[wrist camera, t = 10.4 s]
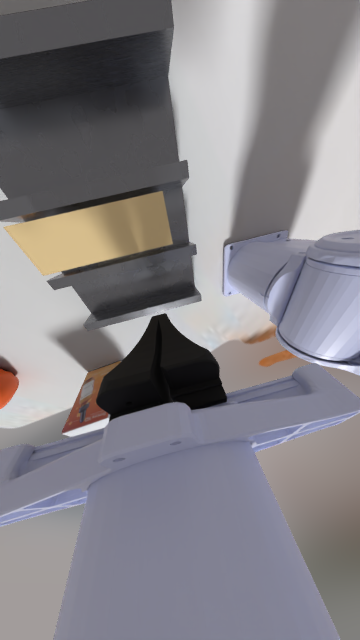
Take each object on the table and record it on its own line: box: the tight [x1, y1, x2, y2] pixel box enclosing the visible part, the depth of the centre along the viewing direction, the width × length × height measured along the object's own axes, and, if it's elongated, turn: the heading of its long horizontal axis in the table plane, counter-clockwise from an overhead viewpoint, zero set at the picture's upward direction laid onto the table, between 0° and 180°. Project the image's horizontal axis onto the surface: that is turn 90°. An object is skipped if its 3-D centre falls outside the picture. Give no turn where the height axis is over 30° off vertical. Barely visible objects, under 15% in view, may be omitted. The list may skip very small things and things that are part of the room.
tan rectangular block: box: [4, 191, 173, 276], centre depth 12 cm, size 10×3×7 cm, turn 101°
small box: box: [62, 361, 121, 437], centre depth 25 cm, size 8×6×10 cm
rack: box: [0, 0, 201, 331], centre depth 14 cm, size 16×19×4 cm
